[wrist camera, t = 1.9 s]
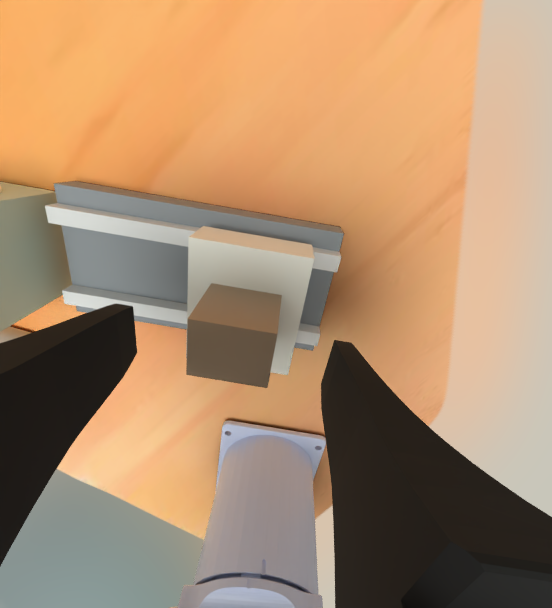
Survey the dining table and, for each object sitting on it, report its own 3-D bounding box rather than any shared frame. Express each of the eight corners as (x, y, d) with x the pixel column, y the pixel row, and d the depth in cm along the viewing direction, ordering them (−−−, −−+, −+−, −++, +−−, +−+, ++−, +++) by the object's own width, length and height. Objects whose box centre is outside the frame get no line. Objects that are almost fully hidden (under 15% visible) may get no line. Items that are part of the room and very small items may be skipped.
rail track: (311, 336, 19) (313, 358, 17) (93, 299, 18) (67, 317, 16) (339, 227, 15) (346, 237, 13) (75, 180, 15) (40, 184, 13)
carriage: (288, 350, 16) (285, 425, 12) (198, 335, 16) (160, 405, 12) (312, 244, 13) (319, 290, 9) (203, 225, 13) (155, 261, 9)
